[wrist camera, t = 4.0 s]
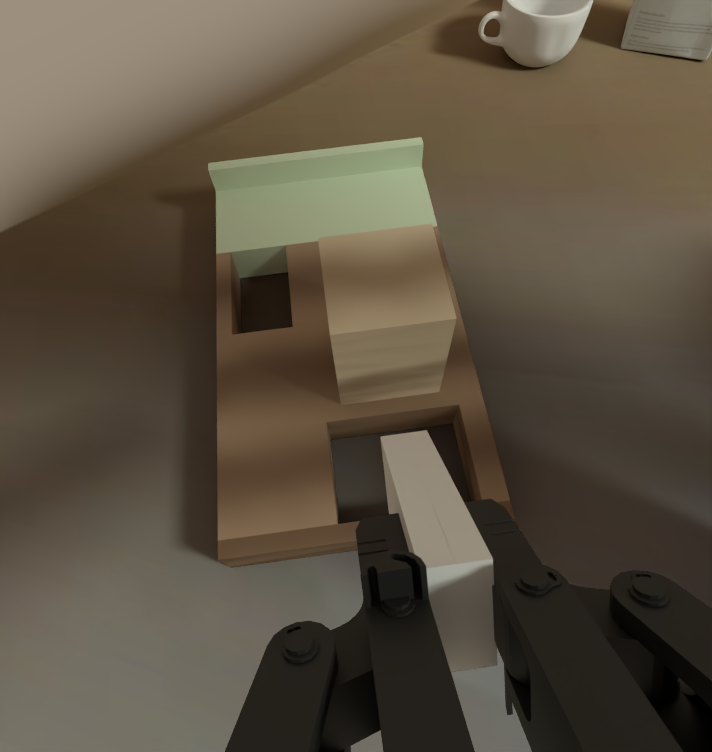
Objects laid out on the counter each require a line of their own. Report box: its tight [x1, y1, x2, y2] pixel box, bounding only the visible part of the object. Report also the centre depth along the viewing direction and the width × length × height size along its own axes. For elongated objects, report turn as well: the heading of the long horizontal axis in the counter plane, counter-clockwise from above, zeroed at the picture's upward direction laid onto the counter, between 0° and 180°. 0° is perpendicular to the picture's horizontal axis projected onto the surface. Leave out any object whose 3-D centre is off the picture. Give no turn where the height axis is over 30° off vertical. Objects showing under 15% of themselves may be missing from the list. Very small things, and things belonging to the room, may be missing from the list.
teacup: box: [478, 0, 593, 68], centre depth 49 cm, size 10×8×5 cm
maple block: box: [318, 224, 457, 405], centre depth 29 cm, size 6×6×8 cm
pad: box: [208, 137, 437, 278], centre depth 39 cm, size 7×16×5 cm, turn 97°
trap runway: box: [216, 226, 515, 567], centre depth 34 cm, size 21×16×3 cm
